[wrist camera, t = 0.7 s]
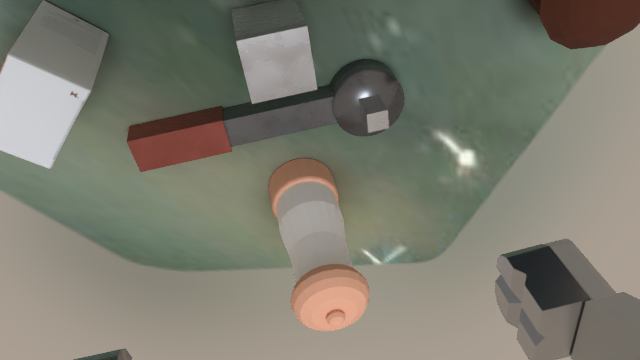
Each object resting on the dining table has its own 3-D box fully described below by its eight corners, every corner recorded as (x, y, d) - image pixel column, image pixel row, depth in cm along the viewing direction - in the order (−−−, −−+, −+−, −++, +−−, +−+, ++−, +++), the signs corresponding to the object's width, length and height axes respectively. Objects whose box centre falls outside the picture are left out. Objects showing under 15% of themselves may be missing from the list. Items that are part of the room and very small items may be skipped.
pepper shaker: (337, 199, 61) (383, 336, 46) (277, 216, 61) (303, 358, 46) (326, 150, 56) (373, 284, 41) (261, 168, 56) (285, 308, 41)
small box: (43, -3, 42) (6, 50, 34) (111, 33, 45) (92, 90, 36) (9, 75, 45) (-32, 141, 37) (74, 104, 48) (50, 171, 40)
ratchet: (123, 111, 49) (115, 145, 44) (393, 52, 51) (413, 79, 46) (148, 168, 54) (144, 206, 49) (396, 113, 55) (415, 143, 50)
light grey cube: (231, 9, 45) (235, 41, 40) (293, -4, 46) (307, 26, 40) (245, 67, 49) (252, 103, 43) (303, 55, 49) (317, 89, 44)
